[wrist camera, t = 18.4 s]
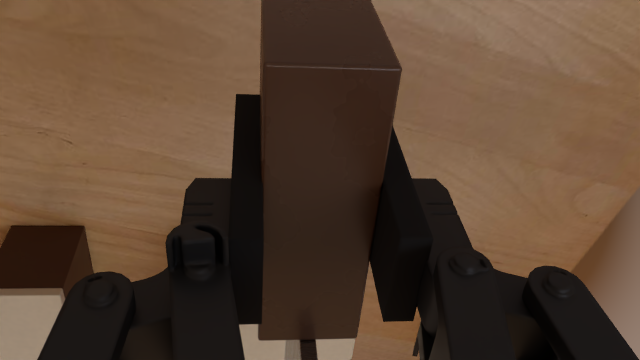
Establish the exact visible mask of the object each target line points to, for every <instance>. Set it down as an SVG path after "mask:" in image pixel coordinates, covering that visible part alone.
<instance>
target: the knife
mask: <svg viewBox="0 0 640 360" xmlns="http://www.w3.org/2000/svg"><path fill="white" fill-rule="evenodd" d="M401 72H402V68H401V65H400V63H399V61H398V59H397V56H396V54H395V52H394V50H393V48H392V46H391V43H390V41H389V39H388V37H387V35H386V32H385V30H384V28H383V26H382V24H381V22H380V19H379V17H378V15H377V13H376V11H375V8H374V6H373V4H372V2H371V0H261V52H260V147H261V182H262V183H263V222H264V253H263V296H262V324H258V339H259V340H260V341H275V340H286V343H285V359H284V360H318V357H317V347H316V340H320V339H355V338H356V337H357V332H358V327H359V321H360V315H361V309H362V303H363V297H364V291H365V285H366V279H367V273H368V267H369V261H370V255H371V250H372V244H373V238H374V232H375V226H376V220H377V214H378V208H379V202H380V196H381V190H382V184H383V178H384V173H385V167H386V161H387V155H388V149H389V143H390V137H391V131H392V125H393V119H394V113H395V107H396V101H397V95H398V90H399V84H400V78H401Z"/></svg>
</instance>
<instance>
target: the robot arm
mask: <svg viewBox="0 0 640 360" xmlns="http://www.w3.org/2000/svg"><path fill="white" fill-rule="evenodd" d="M166 253H167V262H168V267H167V268H166V269H165V270H164V271H162V272H161V273H159V274H157V275H155V276H152V277H149V278H147V279H143V280H139V281H135V282H130V280H129V279H128V278H127V277H125V276H124V275H122V274H120V273H115V272H98V273H94V274H92V275H89V276H86V277H84V278H83V279H81V280H80V281H78V282H77V283H75V284H74V286H73V287H72V288H71V290H70V291H69V292H68V295H67V297H66V299H65V301H64V303H63V305H62V307H61V310H60V312H59V314H58V316H57V318H56V320H55V322H54V325H53V327H52V329H51V331H50V333H49V335H48V337H47V340H46V342H45V344H44V346H43V348H42V350H41V352H40V355H39V357H38V359H37V360H245V357H244V351H243V345H242V339H241V333H240V327H239V325H245V324H262V296H263V253H264V222H263V183H262V182H261V147H260V95H249V94H236V106H235V124H234V142H233V160H232V178H195V179H194V181H193V182H192V183H191V184H190V185H189V187H188V188H187V189H186V192H185V198H184V206H183V211H182V218H181V224H180V225H179V226H178V227H176V228H174V229H173V230H172V231H171V232H170V233H169V235H168V236H167V240H166ZM370 264H371V268H372V273H373V277H374V282H375V286H376V291H377V295H378V300H379V304H380V309H381V313H382V318H383V322H388V321H413V320H414V316H415V312H416V308H417V307H418V311H419V314H420V318H421V323H420V327H419V331H418V334H417V338H416V342H415V346H414V350H413V356H417V355H418V351H419V355H420V360H639V359H638V357H637V356H636V355H635V353H634V352H633V351H632V349H631V348H630V347H629V345H628V344H627V342H626V341H625V340H624V338H623V337H622V336H621V334H620V333H619V331H618V330H617V329H616V327H615V326H614V324H613V323H612V322H611V321H610V319H609V318H608V316H607V315H606V313H605V312H604V311H603V309H602V308H601V307H600V305H599V304H598V302H597V301H596V300H595V298H594V297H593V296H592V294H591V293H590V291H589V290H588V289H587V287H586V286H585V285H584V284H583V282H582V281H581V280H580V279H579V278H578V277H577V276H575V275H574V274H572V273H570V272H568V271H567V270H564V269H561V268H558V267H555V266H541V267H537V268H535V269H534V270H533V271H532V272H530V274H529V276H528V278H525V277H521V276H516V275H512V274H508V273H504V272H501V271H498V270H496V269H494V268H493V266H492V264H491V263H490V261H489V260H488V259H487V258H486V257H485V256H484V255H483V254H482V253H480V252H478V251H476V250H474V249H473V247H472V245H471V243H470V240H469V238H468V236H467V234H466V231H465V229H464V227H463V224H462V222H461V220H460V217H459V215H457V210H456V208H455V206H454V205H453V201H452V199H451V197H450V194H449V192H448V190H447V189H446V188H445V187H444V186H443V185H442V184H441V183H440V182H439V181H437V180H436V179H412V178H411V175H410V172H409V170H408V167H407V164H406V161H405V158H404V156H403V153H402V150H401V147H400V145H399V142H398V139H397V136H396V134H395V131H394V128H393V125H392V131H391V137H390V143H389V149H388V155H387V161H386V167H385V173H384V178H383V184H382V190H381V196H380V202H379V208H378V214H377V220H376V226H375V232H374V238H373V244H372V250H371V255H370Z"/></svg>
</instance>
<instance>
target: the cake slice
mask: <svg viewBox="0 0 640 360" xmlns="http://www.w3.org/2000/svg"><path fill="white" fill-rule="evenodd" d="M92 274H93V269H92V264H91V259H90V254H89V249H88V244H87V239H86V234H85V229H84V227H83V226H11V228H10V230H9V232H8V234H7V236H6V238H5V240H4V242H3V244H2V246H1V248H0V360H37V359H38V357H39V355H40V352H41V350H42V348H43V346H44V344H45V342H46V340H47V337H48V335H49V333H50V331H51V329H52V327H53V325H54V322H55V320H56V318H57V316H58V314H59V312H60V310H61V307H62V305H63V303H64V301H65V299H66V297H67V295H68V292H69V291H70V290H71V288H72V287H73V286H74V284H75V283H77V282H78V281H80V280H81V279H83V278H84V277H86V276H89V275H92Z"/></svg>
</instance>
